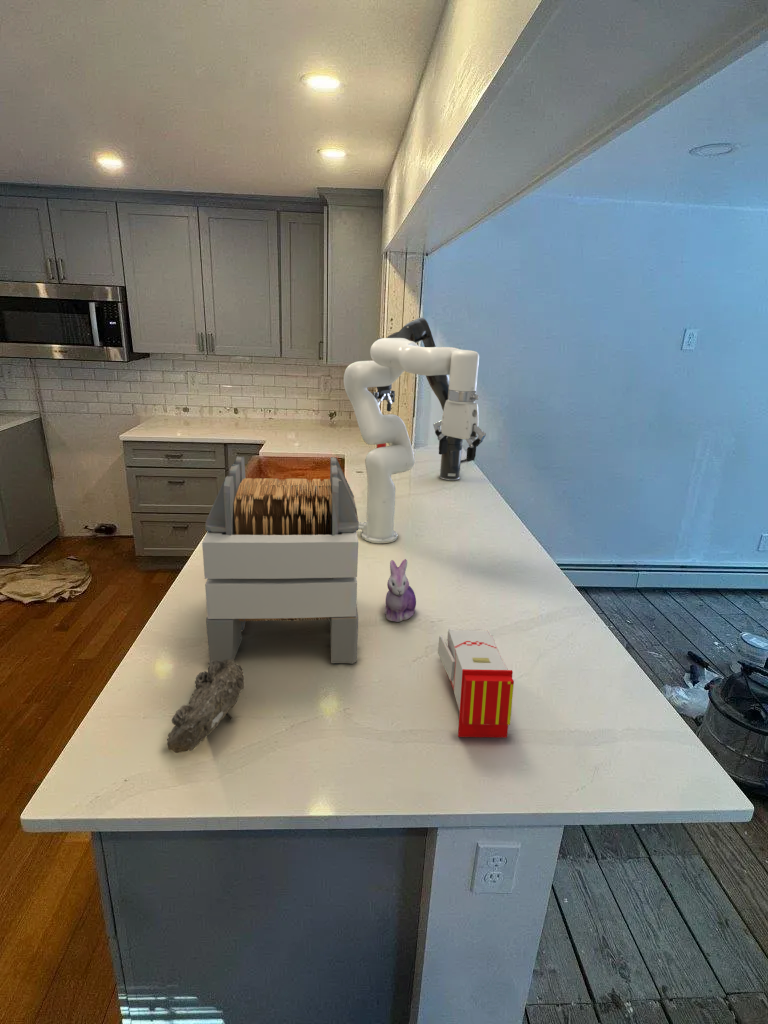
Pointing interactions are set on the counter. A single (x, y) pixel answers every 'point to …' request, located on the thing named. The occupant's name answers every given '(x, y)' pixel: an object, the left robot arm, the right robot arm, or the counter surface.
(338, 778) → the counter surface
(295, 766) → the counter surface
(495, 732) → the toy
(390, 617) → the figurine
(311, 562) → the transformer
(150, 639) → the counter surface
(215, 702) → the fossil
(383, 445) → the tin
